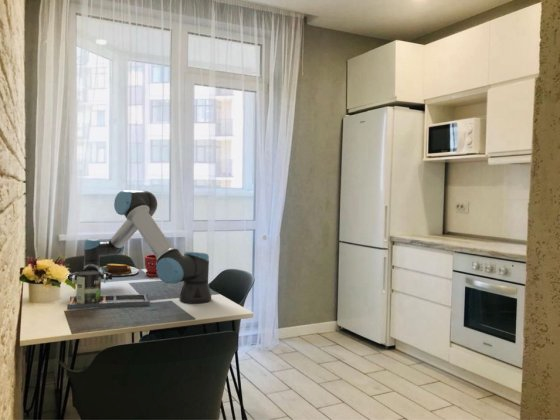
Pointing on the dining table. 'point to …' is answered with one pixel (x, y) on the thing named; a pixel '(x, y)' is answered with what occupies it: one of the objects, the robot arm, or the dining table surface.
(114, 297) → the gray rectangular tray
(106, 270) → the food on plate
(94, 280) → the coffee can
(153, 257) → the plant pot
